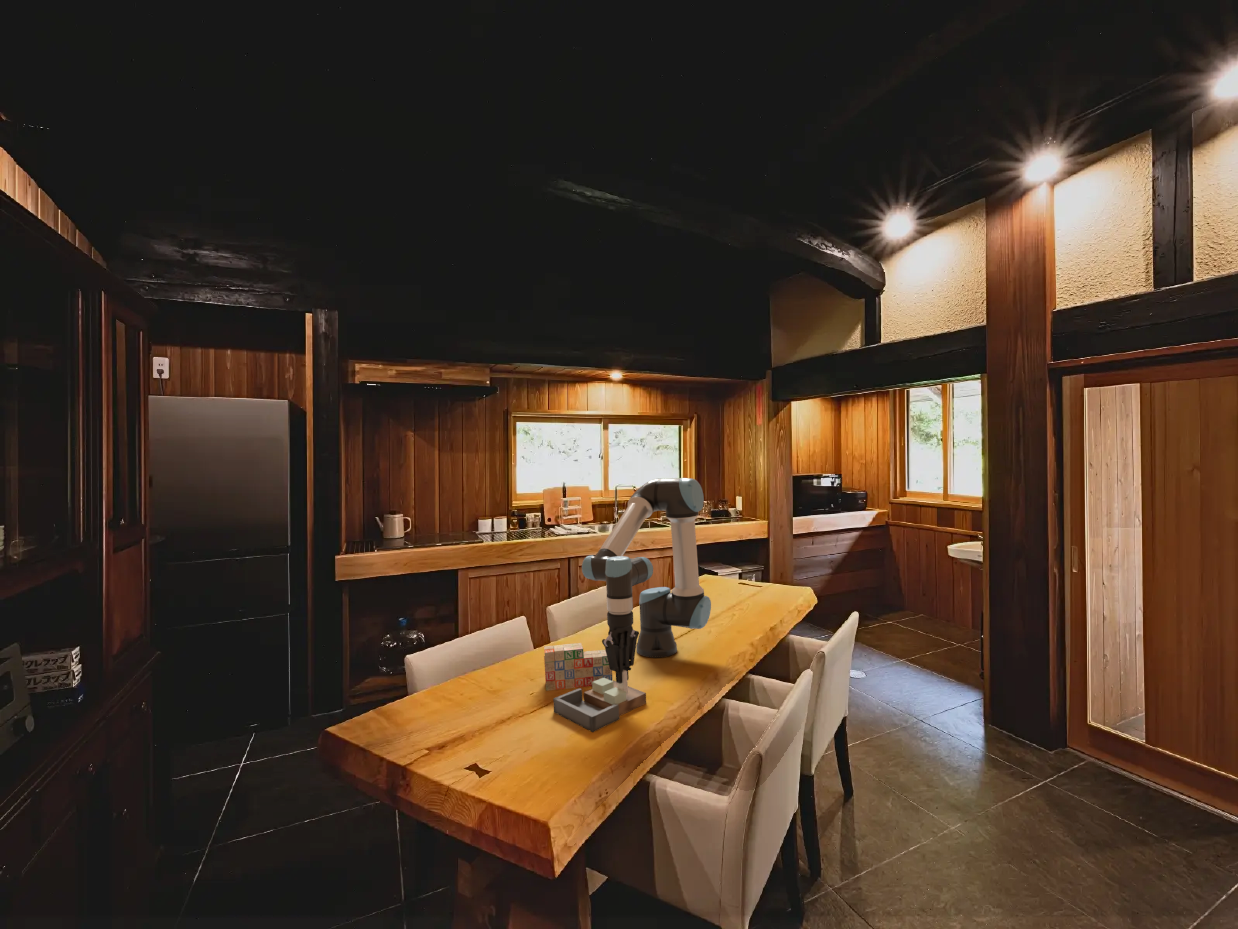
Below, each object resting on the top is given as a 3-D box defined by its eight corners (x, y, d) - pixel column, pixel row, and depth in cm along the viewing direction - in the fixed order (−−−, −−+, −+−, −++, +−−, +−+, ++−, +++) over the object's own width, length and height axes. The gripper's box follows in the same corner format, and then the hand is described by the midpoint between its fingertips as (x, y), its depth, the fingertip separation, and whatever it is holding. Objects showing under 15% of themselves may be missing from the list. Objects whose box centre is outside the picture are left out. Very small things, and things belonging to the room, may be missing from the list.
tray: (580, 701, 163) (579, 688, 163) (619, 719, 150) (619, 704, 150) (553, 712, 156) (553, 698, 156) (592, 732, 144) (592, 717, 144)
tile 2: (615, 695, 158) (615, 687, 158) (626, 700, 155) (625, 691, 155) (603, 700, 155) (603, 692, 155) (614, 705, 152) (614, 696, 152)
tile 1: (603, 685, 166) (603, 677, 166) (613, 689, 163) (613, 681, 163) (592, 690, 163) (592, 682, 163) (602, 694, 160) (602, 686, 160)
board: (613, 690, 170) (613, 680, 170) (646, 703, 160) (645, 693, 160) (584, 702, 162) (583, 692, 162) (616, 717, 151) (616, 706, 151)
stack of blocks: (610, 677, 181) (608, 640, 181) (612, 684, 175) (611, 646, 175) (545, 683, 177) (543, 645, 177) (545, 691, 171) (544, 652, 171)
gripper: (626, 604, 165) (629, 682, 165) (594, 613, 156) (597, 696, 156) (644, 608, 159) (647, 689, 159) (612, 618, 150) (615, 704, 150)
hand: (622, 692), depth 157 cm, fingers closed
